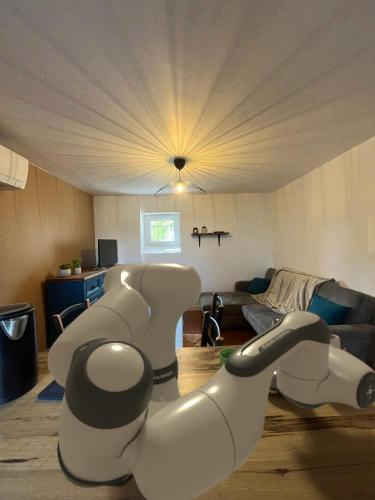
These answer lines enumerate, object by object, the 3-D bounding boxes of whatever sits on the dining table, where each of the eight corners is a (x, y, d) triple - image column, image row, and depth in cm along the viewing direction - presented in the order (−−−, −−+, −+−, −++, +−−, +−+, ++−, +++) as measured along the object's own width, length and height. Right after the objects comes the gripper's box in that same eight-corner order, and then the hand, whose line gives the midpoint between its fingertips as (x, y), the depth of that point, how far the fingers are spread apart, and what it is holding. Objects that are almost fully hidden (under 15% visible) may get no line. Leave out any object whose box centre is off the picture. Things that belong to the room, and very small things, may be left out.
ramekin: (244, 374, 83) (243, 361, 83) (216, 371, 86) (216, 358, 86) (245, 361, 92) (245, 349, 92) (220, 358, 94) (220, 346, 94)
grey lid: (272, 403, 69) (272, 385, 68) (249, 377, 81) (249, 361, 81) (314, 395, 72) (314, 377, 71) (286, 371, 84) (286, 356, 84)
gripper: (272, 372, 61) (246, 347, 74) (344, 359, 65) (307, 338, 79) (272, 346, 60) (245, 326, 74) (344, 335, 65) (307, 318, 78)
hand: (278, 332), depth 76 cm, fingers closed on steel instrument, 5 cm apart
